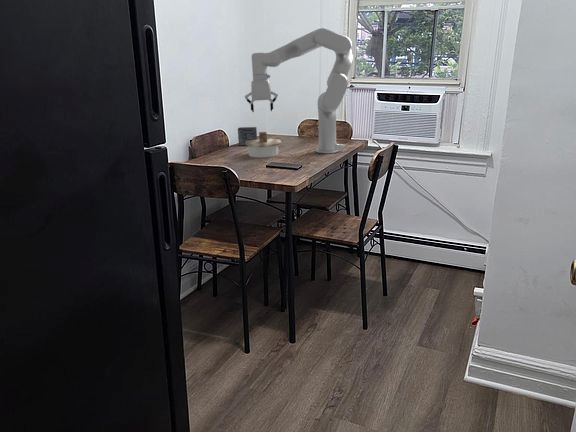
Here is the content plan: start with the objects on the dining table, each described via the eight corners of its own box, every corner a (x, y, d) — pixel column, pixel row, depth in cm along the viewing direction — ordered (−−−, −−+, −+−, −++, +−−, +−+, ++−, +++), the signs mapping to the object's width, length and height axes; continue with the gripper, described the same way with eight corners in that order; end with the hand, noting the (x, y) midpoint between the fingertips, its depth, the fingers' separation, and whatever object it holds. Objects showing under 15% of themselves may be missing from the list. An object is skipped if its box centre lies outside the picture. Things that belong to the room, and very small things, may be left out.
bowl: (277, 151, 285) (277, 140, 283) (278, 157, 270) (278, 145, 268) (249, 152, 285) (248, 141, 283) (248, 158, 269) (247, 147, 268)
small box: (257, 144, 310) (256, 126, 307) (256, 146, 304) (255, 128, 301) (240, 144, 311) (239, 126, 308) (238, 146, 305) (237, 128, 302)
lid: (280, 140, 285) (280, 129, 283) (281, 146, 267) (281, 134, 265) (246, 141, 284) (245, 130, 282) (245, 147, 266) (244, 136, 264)
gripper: (276, 76, 269) (278, 109, 274) (243, 78, 268) (246, 111, 274) (277, 77, 262) (278, 111, 267) (243, 79, 261) (245, 113, 266)
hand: (262, 111), depth 270 cm, fingers open, 9 cm apart
